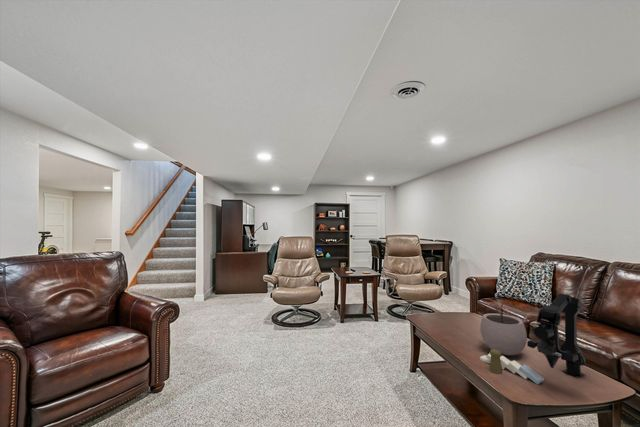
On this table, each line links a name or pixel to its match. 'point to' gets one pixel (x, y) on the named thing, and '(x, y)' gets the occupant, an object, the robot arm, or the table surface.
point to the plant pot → (503, 333)
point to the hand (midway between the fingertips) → (552, 367)
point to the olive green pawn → (495, 361)
